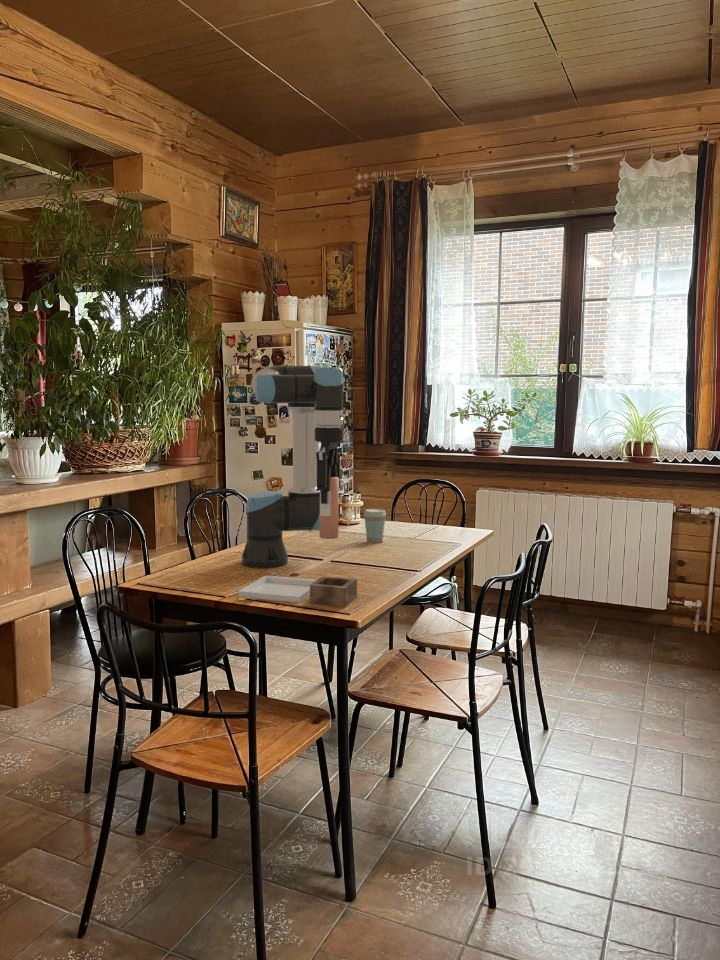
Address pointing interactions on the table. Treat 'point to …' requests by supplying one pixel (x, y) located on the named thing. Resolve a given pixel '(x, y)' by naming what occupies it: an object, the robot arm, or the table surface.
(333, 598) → the socket block
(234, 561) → the table surface
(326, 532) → the peg
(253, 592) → the tray
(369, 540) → the coffee cup
